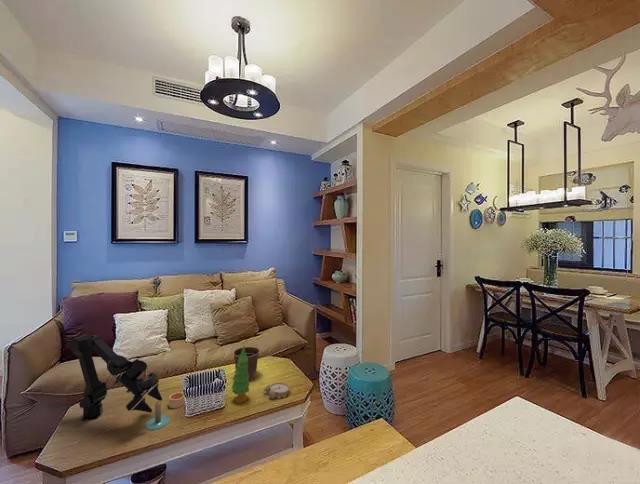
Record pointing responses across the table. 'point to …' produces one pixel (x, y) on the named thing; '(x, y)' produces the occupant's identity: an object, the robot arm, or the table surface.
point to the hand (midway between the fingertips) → (156, 405)
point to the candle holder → (277, 390)
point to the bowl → (176, 400)
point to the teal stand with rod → (157, 419)
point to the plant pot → (249, 359)
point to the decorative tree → (241, 378)
